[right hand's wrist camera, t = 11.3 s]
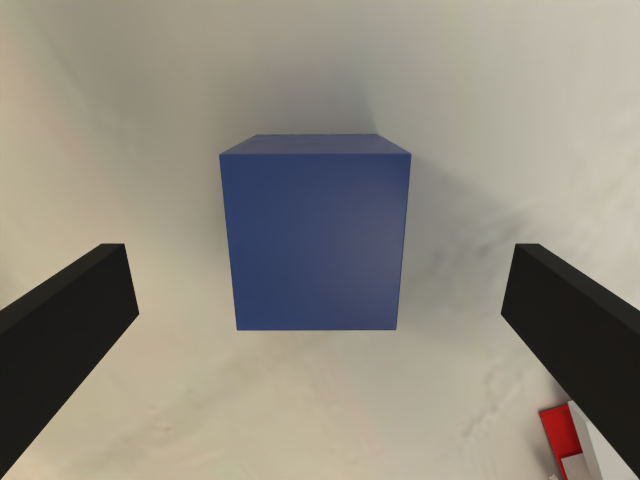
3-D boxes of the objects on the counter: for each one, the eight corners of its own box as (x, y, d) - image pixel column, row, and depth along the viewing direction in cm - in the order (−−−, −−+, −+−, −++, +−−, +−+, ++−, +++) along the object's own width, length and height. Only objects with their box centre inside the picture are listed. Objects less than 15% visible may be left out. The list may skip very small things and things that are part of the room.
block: (371, 256, 27) (396, 330, 18) (263, 256, 27) (236, 330, 18) (378, 134, 23) (411, 153, 15) (255, 134, 23) (218, 154, 15)
